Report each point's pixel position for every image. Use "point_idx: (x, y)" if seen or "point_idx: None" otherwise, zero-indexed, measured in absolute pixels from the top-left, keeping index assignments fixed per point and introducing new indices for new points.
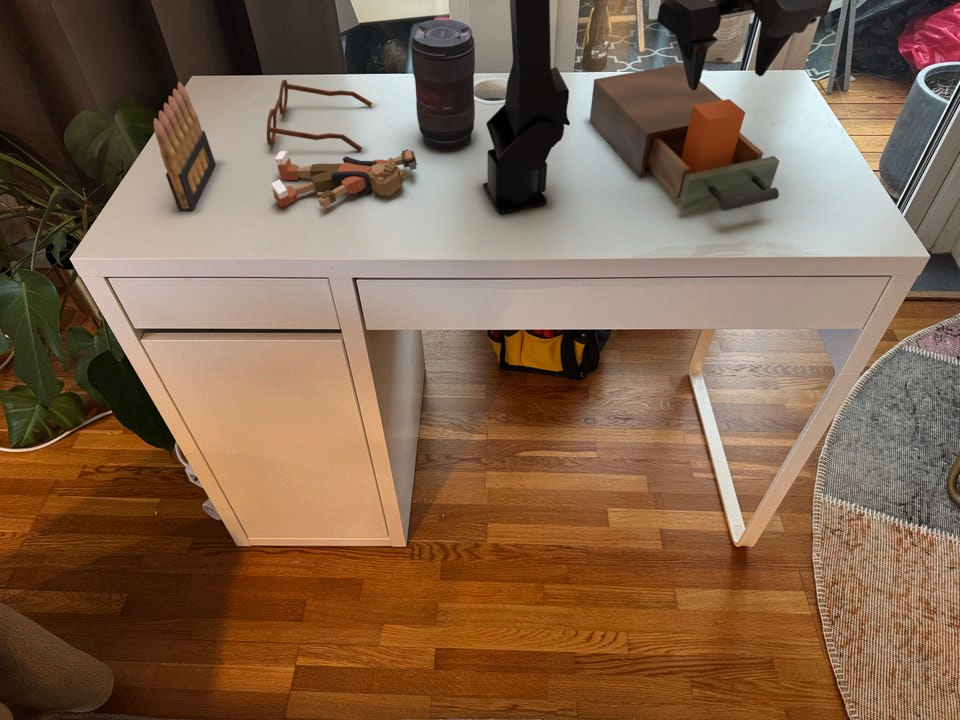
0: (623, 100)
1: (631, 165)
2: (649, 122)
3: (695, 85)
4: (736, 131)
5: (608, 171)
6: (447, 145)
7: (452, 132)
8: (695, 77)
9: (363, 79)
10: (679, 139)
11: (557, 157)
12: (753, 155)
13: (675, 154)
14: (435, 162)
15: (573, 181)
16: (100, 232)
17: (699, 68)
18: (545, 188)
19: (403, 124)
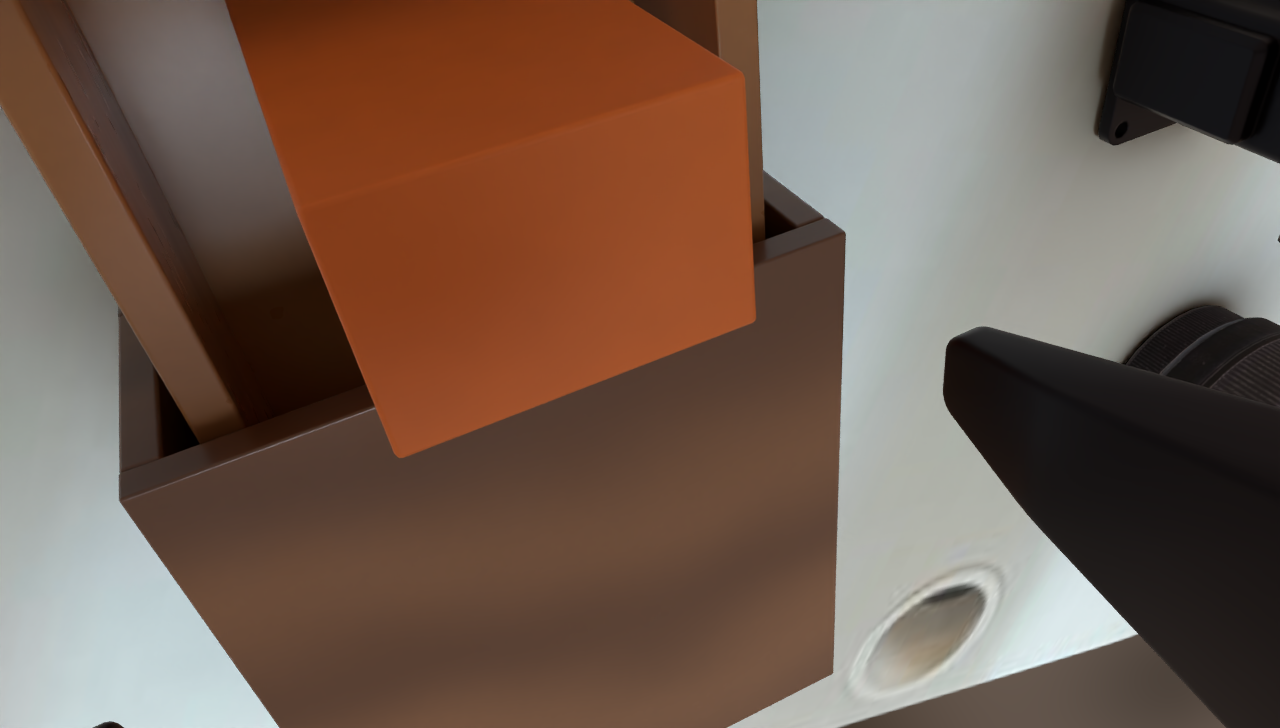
0: (801, 541)
1: None
2: (778, 353)
3: (1021, 348)
4: (312, 112)
5: (801, 183)
6: (1225, 316)
7: (1270, 337)
8: (1150, 374)
9: None
10: None
11: (935, 286)
12: (35, 10)
13: (723, 34)
14: (1257, 246)
15: (963, 108)
16: None
17: (1252, 436)
18: (1143, 10)
19: None
